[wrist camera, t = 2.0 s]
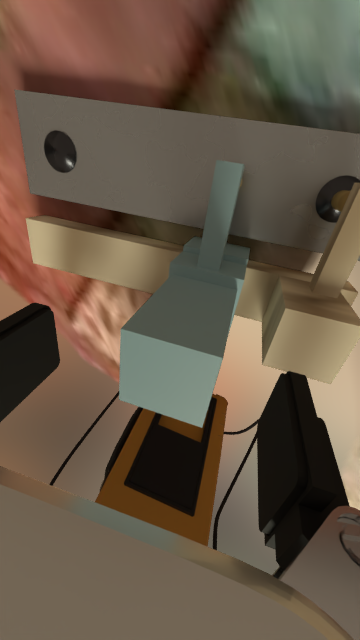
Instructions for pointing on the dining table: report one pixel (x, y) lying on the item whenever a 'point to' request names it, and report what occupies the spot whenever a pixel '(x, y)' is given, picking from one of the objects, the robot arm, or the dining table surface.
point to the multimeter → (168, 470)
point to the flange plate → (187, 165)
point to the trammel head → (188, 316)
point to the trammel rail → (257, 291)
